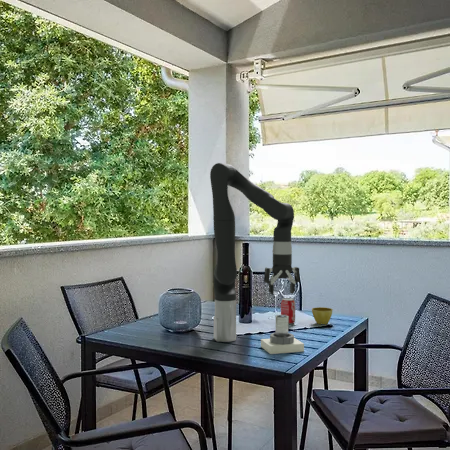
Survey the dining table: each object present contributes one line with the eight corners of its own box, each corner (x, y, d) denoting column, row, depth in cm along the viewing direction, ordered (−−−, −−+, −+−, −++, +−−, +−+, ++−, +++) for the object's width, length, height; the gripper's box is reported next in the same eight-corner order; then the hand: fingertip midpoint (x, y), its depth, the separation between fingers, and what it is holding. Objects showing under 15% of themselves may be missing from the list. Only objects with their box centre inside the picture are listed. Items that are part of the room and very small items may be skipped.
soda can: (293, 321, 238) (293, 297, 237) (296, 324, 231) (296, 300, 230) (279, 321, 237) (279, 297, 237) (282, 324, 230) (282, 300, 230)
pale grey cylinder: (278, 343, 185) (278, 317, 185) (273, 340, 190) (273, 314, 190) (290, 342, 186) (290, 316, 186) (285, 339, 191) (285, 314, 191)
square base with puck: (270, 354, 181) (270, 339, 181) (260, 346, 192) (260, 333, 192) (304, 351, 185) (304, 337, 185) (292, 344, 195) (292, 330, 195)
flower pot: (310, 321, 238) (310, 307, 238) (330, 321, 238) (330, 307, 238) (313, 325, 228) (313, 311, 228) (334, 325, 228) (334, 311, 228)
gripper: (268, 253, 182) (268, 295, 183) (302, 253, 186) (302, 294, 186) (262, 252, 190) (261, 292, 190) (295, 252, 193) (294, 291, 194)
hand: (281, 293), depth 188 cm, fingers open, 8 cm apart
